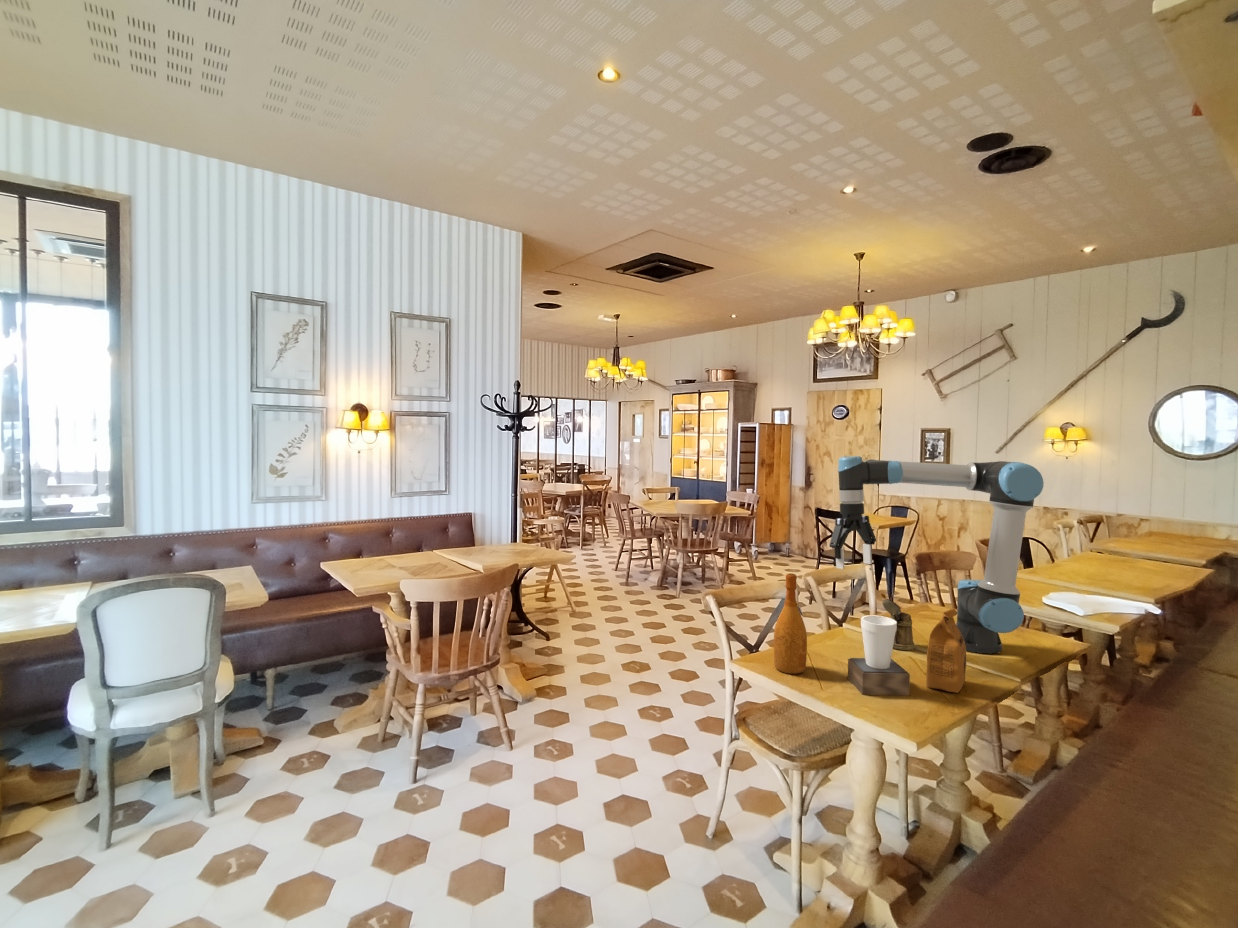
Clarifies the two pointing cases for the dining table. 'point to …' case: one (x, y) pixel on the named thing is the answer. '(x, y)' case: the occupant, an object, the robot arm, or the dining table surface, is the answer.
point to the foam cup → (878, 640)
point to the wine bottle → (790, 633)
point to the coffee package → (946, 655)
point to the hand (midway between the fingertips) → (854, 566)
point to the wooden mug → (900, 626)
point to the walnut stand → (878, 678)
